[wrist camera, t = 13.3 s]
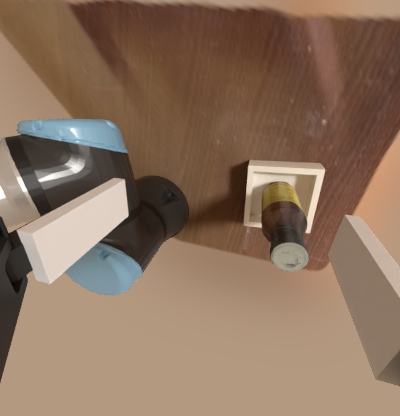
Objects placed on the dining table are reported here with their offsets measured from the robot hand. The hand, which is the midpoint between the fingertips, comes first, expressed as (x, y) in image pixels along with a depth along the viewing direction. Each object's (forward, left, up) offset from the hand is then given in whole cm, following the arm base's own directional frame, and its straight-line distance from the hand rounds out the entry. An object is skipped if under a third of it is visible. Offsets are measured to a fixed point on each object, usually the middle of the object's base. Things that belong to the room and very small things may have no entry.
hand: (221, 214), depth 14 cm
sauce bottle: (+6, -10, -29) cm, 32 cm away
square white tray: (+6, -10, -30) cm, 32 cm away
